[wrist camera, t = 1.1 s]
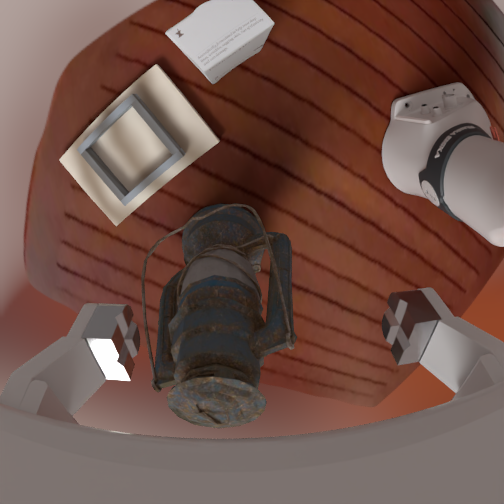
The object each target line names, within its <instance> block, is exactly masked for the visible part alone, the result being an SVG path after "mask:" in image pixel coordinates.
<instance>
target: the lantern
mask: <svg viewBox="0 0 504 504" xmlns="http://www.w3.org/2000/svg"><path fill="white" fill-rule="evenodd" d="M241 207H246V208H248V209H249V210H251V211H252V212H253V213H254V215H255V217H256V218H255V217H254V216H253V215H252V214H251V213H250V212H248V211H247V210H245V209H243V208H241ZM184 228H185V229H184ZM182 229H184V231H183V237H182V249H183V253H184V261H185V264H186V267H185V268H184V269H182V270H181V271H179V272H178V273H177V274H176V275H175V276H173V277H172V278H171V280H170V281H169V282H168V283H167V284H166V285H165V286H164V288H163V293H162V296H161V299H160V311H159V321H158V325H159V327H158V340H157V350H156V357H155V360H156V361H155V368H154V362H153V357H152V351H151V345H150V340H149V333H148V327H147V320H146V307H145V288H144V278H145V270H146V263H147V259H148V257H149V256H150V255H151V254H152V252H153V251H154V250H155V248H156V247H157V246H158V245H159V243H160V242H162V241H163V240H164V239H166V238H167V237H169V236H171V235H173V234H175V233H176V232H178V231H180V230H182ZM264 249H268V252H269V256H270V260H271V264H270V278H269V291H268V304H267V316H266V323H265V322H264V320H263V319H262V317H261V314H262V310H263V307H262V305H261V302H262V293H261V290H260V286H259V284H258V281H257V279H256V275H255V274H256V272H259V271H260V270H261V265H260V263H261V259H262V256H263V253H264ZM258 269H259V270H258ZM291 276H292V248H291V242H290V240H289V238H288V237H287V235H285V234H281V233H276V232H266V231H265V228H264V226H263V223H262V221H261V219H260V217H259V216H258V214H257V212H256V211H255V209H253V208H252V207H250V206H248V205H244V204H236V203H235V204H216V205H212V206H208V207H205V208H203V209H201V210H199V211H198V212H197V213H196V214H195V215H194V216H193V217H191V218H190V219H189V220H188V222H187V223H186V224H185V225H184V226H183V227H181V228H179V229H177V230H175V231H173V232H171V233H169V234H168V235H166V236H165V237H163V238H161V239H160V240H158V241H157V242H156V244H155V245H154V246H153V247H152V248H151V249H150V251H149V253H148V255H147V257H146V259H145V261H144V266H143V271H142V304H143V318H144V327H145V334H146V340H147V346H148V352H149V358H150V363H151V368H152V373H153V380H152V381H151V382H152V387H153V388H154V390H156V391H157V392H160V391H161V389H162V388H165V387H168V386H172V385H175V384H176V386H174V387H173V388H172V389H171V390H170V391H169V394H168V396H167V400H168V405H169V408H170V409H171V410H172V411H173V412H174V413H175V414H176V415H177V416H178V417H180V418H182V419H184V420H186V421H188V422H190V423H192V424H194V425H199V426H206V427H213V428H226V427H234V426H241V425H243V424H246V423H248V422H251V421H253V420H255V419H256V418H258V417H259V416H260V415H261V414H262V413H263V411H264V410H265V406H266V399H265V397H264V396H263V395H262V394H261V393H260V391H259V390H258V385H259V379H260V367H261V366H262V365H263V364H264V357H265V356H267V355H268V354H271V353H273V352H276V351H279V350H281V349H284V348H287V347H288V348H290V349H291V350H292V349H293V348H294V343H295V341H296V339H297V336H296V335H295V333H294V325H293V304H292V285H291ZM177 309H178V310H177Z"/></svg>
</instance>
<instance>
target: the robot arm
mask: <svg viewBox="0 0 504 504" xmlns="http://www.w3.org/2000/svg"><path fill="white" fill-rule="evenodd" d="M467 96H468V97H467ZM405 103H407V107H405ZM494 131H495V132H494ZM382 160H383V165H384V169H385V172H386V174H387V176H388V178H389V179H390V181H391V182H392V183H393V185H394V186H395V187H397V188H398V189H399V190H401V191H403V192H405V193H408V194H412V195H417V196H421V197H424V198H427V199H429V200H430V201H431V202H432V203H433V204H435V205H436V206H437V207H438V208H440V209H441V210H443V211H444V212H445V213H447V214H448V215H450V216H451V217H453V218H454V219H456V220H458V221H462V222H465V223H466V224H468V225H469V226H470V227H471V228H473V229H474V230H475V231H477V232H478V233H479V234H480V235H482V236H483V237H484V238H485V239H487V240H488V241H489V242H490V243H492V244H494V245H496V246H500V247H504V143H503V142H500V140H499V137H498V133H497V131H496V128H495V127H494V130H493V128H492V127H491V124H490V121H489V119H488V116H487V114H486V112H485V111H484V109H483V107H482V106H481V105H480V104H479V103H478V102H477V101H476V100H475V99H474V97H473V95H472V94H471V92H470V91H469V90H468V89H467V87H466V86H464V85H463V84H462V83H458V82H456V83H452V84H448V85H444V86H440V87H436V88H433V89H429V90H425V91H422V92H418V93H415V94H411V95H408V96H405V97H401V98H398V99H396V100H394V101H393V103H392V107H391V121H390V124H389V126H388V129H387V131H386V133H385V136H384V140H383V145H382ZM387 303H388V305H389V307H390V308H389V309H388V310H387V311H386V312H385V313H384V316H383V319H382V331H383V335H384V337H385V339H386V341H387V342H389V343H390V344H392V348H391V352H392V354H393V356H394V358H395V360H396V363H397V365H402V364H408V363H413V362H419V361H420V362H419V363H420V364H422V365H423V366H424V367H425V368H426V369H428V370H429V371H430V372H431V373H432V374H434V375H435V376H436V377H437V378H438V379H440V380H441V381H442V382H443V383H444V384H446V385H447V386H448V387H449V388H450V389H452V390H453V391H454V392H455V393H456V394H455V396H454V397H453V399H452V400H451V401H450V402H447V403H444V404H441V405H438V406H435V407H431V408H429V409H425V410H421V411H418V412H414V413H411V414H407V415H404V416H399V417H396V418H392V419H387V420H383V421H379V422H374V423H369V424H364V425H359V426H354V427H348V428H343V429H337V430H330V431H323V432H316V433H308V434H300V435H290V436H279V437H264V438H245V439H244V438H242V439H197V438H176V437H175V438H174V437H161V436H150V435H141V434H131V433H124V432H117V431H111V430H104V429H98V428H93V427H88V426H82V425H79V424H78V422H77V421H76V420H75V419H74V418H73V415H74V414H75V413H76V412H77V411H78V410H79V409H80V408H81V406H82V405H83V404H84V403H85V402H86V401H87V400H88V399H89V398H90V397H91V396H92V395H93V394H94V393H95V392H96V391H97V390H98V388H99V387H100V386H101V385H102V384H103V383H104V382H105V381H106V379H112V380H130V379H131V375H132V371H133V368H134V365H135V364H134V362H133V359H132V358H133V357H134V356H136V355H137V354H138V351H139V347H140V335H139V330H138V327H137V325H136V324H135V323H134V322H133V321H131V320H132V317H133V312H132V309H131V307H130V306H129V305H127V304H101V303H100V304H96V303H87V304H85V305H84V306H83V307H82V309H81V311H80V313H79V315H78V316H77V318H76V320H75V322H74V324H73V326H72V327H71V329H70V331H69V333H68V335H67V337H62V338H60V339H59V340H57V341H56V342H55V343H53V344H52V345H50V346H49V347H47V348H46V349H45V350H43V351H42V352H40V353H39V354H38V355H36V356H35V357H33V358H32V359H31V360H29V361H28V362H26V363H25V364H24V365H22V366H21V367H20V368H18V369H17V370H15V371H14V372H13V373H12V374H11V376H10V378H9V380H8V382H7V383H6V386H5V388H4V390H3V392H2V394H1V396H0V504H504V342H502V341H500V340H499V339H497V338H495V337H493V336H492V335H490V334H488V333H486V332H485V331H483V330H481V329H479V328H477V327H475V326H474V325H472V324H470V323H468V322H467V321H465V320H463V319H461V318H459V317H454V316H453V314H452V313H451V312H450V310H449V309H448V308H447V306H446V305H445V304H444V302H443V301H442V300H441V298H440V297H439V296H438V294H437V293H436V292H435V291H434V289H432V288H423V289H417V290H410V291H401V292H392V293H391V294H390V296H389V299H388V302H387Z"/></svg>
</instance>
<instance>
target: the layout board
mask: <svg viewBox="0 0 504 504" xmlns="http://www.w3.org/2000/svg"><path fill="white" fill-rule="evenodd" d="M219 142H220V140H219V138H218V137H217V136H216V135H215V133H214V132H213V131H212V130H211V128H210V127H209V126H208V125H207V123H206V122H205V121H204V120H203V118H202V117H201V116H200V115H199V113H198V112H197V111H196V110H195V108H194V107H193V106H192V105H191V103H190V102H189V101H188V100H187V98H186V97H185V96H184V95H183V94H182V92H181V91H180V90H179V89H178V87H177V86H176V85H175V84H174V83H173V81H172V80H171V79H170V78H169V77H168V75H167V74H166V73H165V72H164V71H163V69H162V68H161V67H160V66H159V65H157V64H155V65H154V66H153V67H152V68H151V69H149V70H148V71H147V72H146V73H145V74H143V75H142V76H141V77H140V78H139V79H138V80H136V81H135V82H134V83H133V84H132V85H131V86H130V87H129V88H128V89H126V90H125V91H124V92H123V93H122V94H121V95H120V96H119V97H118V98H117V99H116V100H115V101H114V102H113V103H111V104H110V105H109V106H108V107H107V108H106V109H105V110H104V111H103V112H102V113H101V114H100V115H99V116H98V117H97V118H96V119H95V121H94V122H93V123H92V124H91V125H90V126H89V127H88V128H87V129H86V130H85V131H84V132H83V133H82V134H81V135H80V137H79V138H78V139H77V140H76V141H75V142H74V143H73V144H72V146H71V147H70V148H69V149H68V150H67V151H66V153H65V154H64V155H63V156H62V157H61V159H60V162H61V163H62V164H63V165H64V166H65V168H66V169H67V170H68V171H69V173H70V174H71V175H72V176H73V177H74V179H75V180H76V181H77V182H78V183H79V185H80V186H81V187H82V188H83V189H84V190H85V192H86V193H87V194H88V195H89V196H90V197H91V199H92V200H93V201H94V202H95V203H96V204H97V205H98V207H99V208H100V209H101V210H102V211H103V212H104V213H105V214H106V216H107V217H108V218H109V219H110V220H111V221H112V222H113V223H114V224H115V225H116V226H117V225H118V224H119V223H120V222H122V221H123V220H124V219H125V218H126V217H127V216H128V215H129V214H131V213H132V212H133V211H134V210H135V209H136V208H137V207H139V206H140V205H141V204H142V203H143V202H144V201H145V200H147V199H148V198H149V197H150V196H151V195H153V194H154V193H155V192H156V191H157V190H159V189H160V188H161V187H162V186H163V185H165V184H166V183H167V182H168V181H169V180H171V179H172V178H173V177H174V176H176V175H177V174H178V173H179V172H181V171H182V170H183V169H184V168H186V167H187V166H188V165H190V164H191V163H192V162H193V161H195V160H196V159H197V158H199V157H200V156H201V155H203V154H204V153H205V152H207V151H208V150H209V149H211V148H212V147H213V146H215V145H216V144H217V143H219Z"/></svg>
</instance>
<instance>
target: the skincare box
mask: <svg viewBox="0 0 504 504" xmlns="http://www.w3.org/2000/svg"><path fill="white" fill-rule="evenodd" d="M274 24H275V23H274V22H273V21H272V20H271V18H270V17H269V16H268V15H267V14H266V13H265V12H264V11H263V10H262V9H261V8H260V7H259V6H258V5H257V4H256V3H255V2H254V1H253V0H210V1H208V2H205V3H203V4H202V5H200V6H199V7H197V8H196V9H195V11H194V12H193V13H192V14H190V15H189V16H187V17H186V18H185V19H183V20H182V21H181V22H179V23H178V24H176V25H175V26H173V27H172V28H170V29H169V30H167V31H166V33H165V34H166V35H167V36H168V37H169V38H170V39H171V40H172V41H173V42H174V43H175V44H176V45H177V46H178V47H179V48H180V49H181V51H182V52H183V53H184V54H185V55H186V56H187V57H188V58H189V59H190V60H191V61H192V62H193V63H194V65H195V66H196V67H197V68H198V69H199V70H200V71H201V72H202V73H203V74H204V75H205V76H206V78H207V79H208V80H209V81H210V82H211V83H212V84H215V83H216V82H217V81H219V80H220V79H221V78H222V77H223V76H224V75H226V74H227V73H228V72H229V71H231V70H232V69H233V68H235V67H236V66H238V65H239V64H240V63H242V62H243V61H245V60H246V59H248V58H250V57H251V56H253V55H255V54H256V53H258V52H260V51H261V49H262V47H263V45H264V43H265V41H266V39H267V37H268V35H269V33H270V31H271V29H272V27H273V25H274Z"/></svg>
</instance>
